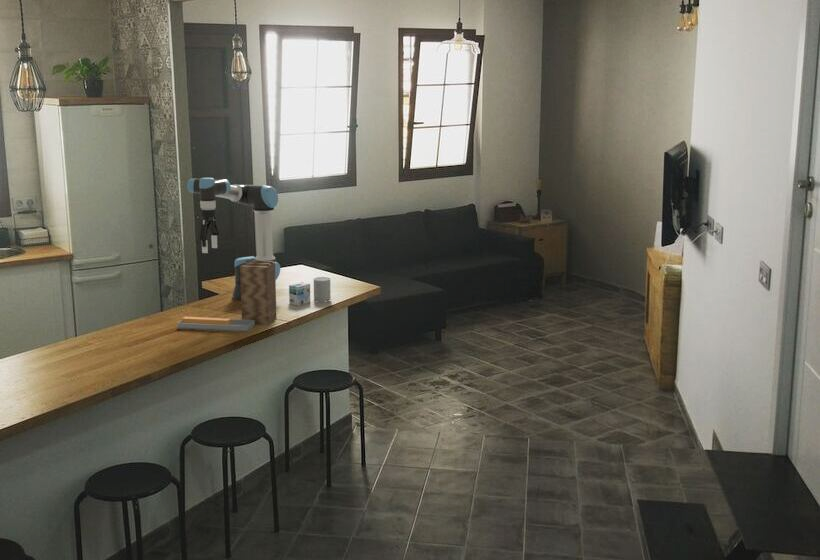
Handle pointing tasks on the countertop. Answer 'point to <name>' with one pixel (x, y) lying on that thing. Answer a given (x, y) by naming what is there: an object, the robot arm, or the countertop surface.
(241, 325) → the tray
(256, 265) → the brown zigzag tall box
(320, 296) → the grey cylinder
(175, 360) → the countertop surface
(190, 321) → the pin
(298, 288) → the light bulb box
